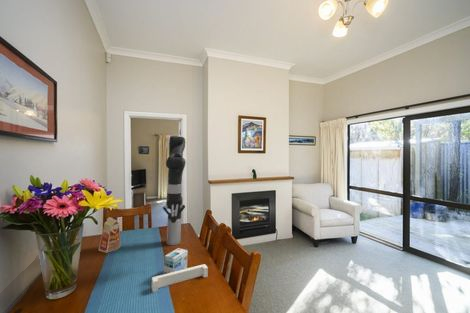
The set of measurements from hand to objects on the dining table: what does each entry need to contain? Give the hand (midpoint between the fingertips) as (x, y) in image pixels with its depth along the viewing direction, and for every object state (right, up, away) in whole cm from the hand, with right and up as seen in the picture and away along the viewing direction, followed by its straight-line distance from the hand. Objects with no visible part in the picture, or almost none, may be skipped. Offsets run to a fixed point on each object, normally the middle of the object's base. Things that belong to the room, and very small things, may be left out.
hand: (173, 222), depth 112 cm
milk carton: (-45, -22, +15) cm, 52 cm away
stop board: (+9, -23, -16) cm, 29 cm away
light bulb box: (+5, -23, -11) cm, 26 cm away
